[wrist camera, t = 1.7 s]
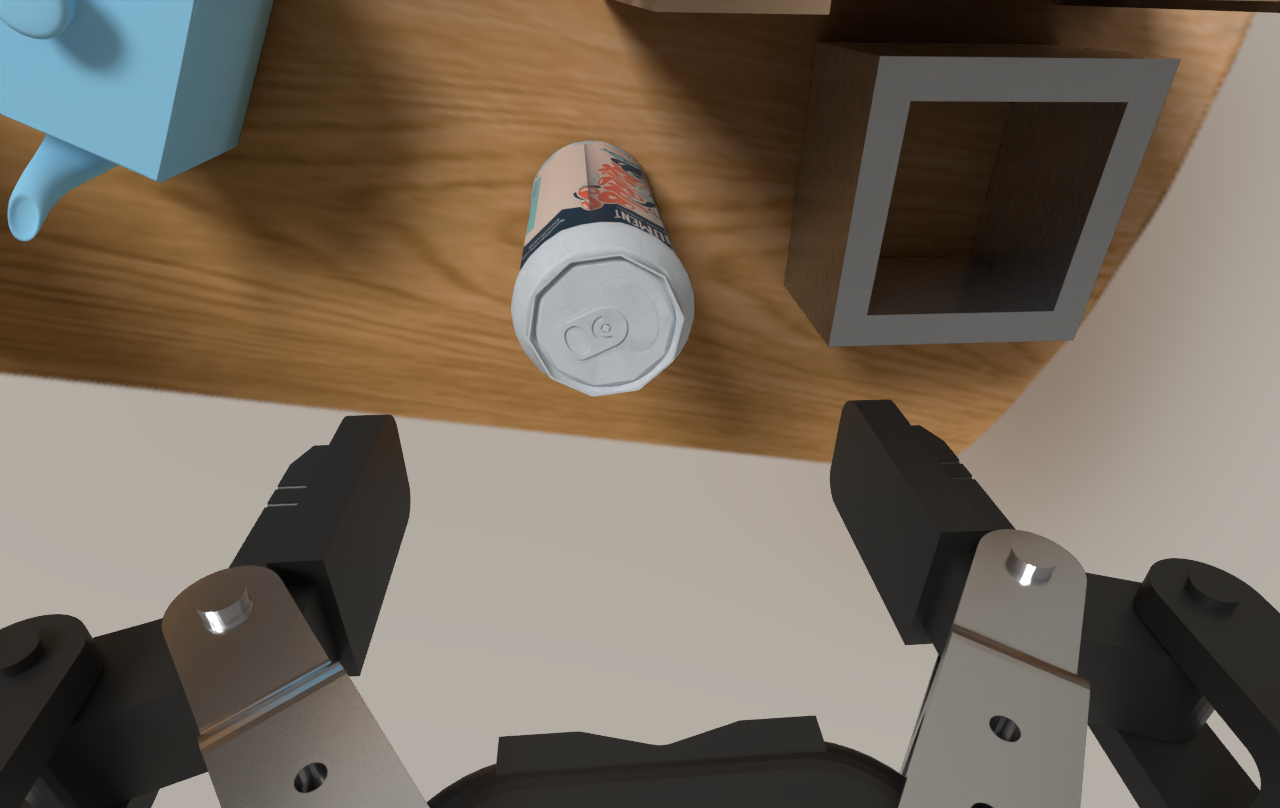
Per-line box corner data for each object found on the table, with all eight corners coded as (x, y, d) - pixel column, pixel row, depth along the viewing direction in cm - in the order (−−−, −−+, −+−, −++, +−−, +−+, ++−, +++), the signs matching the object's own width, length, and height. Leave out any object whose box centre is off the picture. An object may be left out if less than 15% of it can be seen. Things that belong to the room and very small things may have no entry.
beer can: (670, 228, 28) (728, 366, 18) (566, 277, 29) (565, 437, 19) (620, 115, 26) (654, 199, 15) (508, 171, 26) (470, 287, 16)
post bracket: (784, 285, 30) (828, 346, 25) (816, 41, 25) (879, 56, 20) (989, 281, 31) (1073, 340, 26) (1059, 44, 26) (1180, 59, 21)
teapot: (227, 222, 26) (118, 296, 20) (48, 145, 25) (-136, 200, 18) (313, -115, 21) (204, -160, 15) (96, -246, 20) (-135, -360, 13)
